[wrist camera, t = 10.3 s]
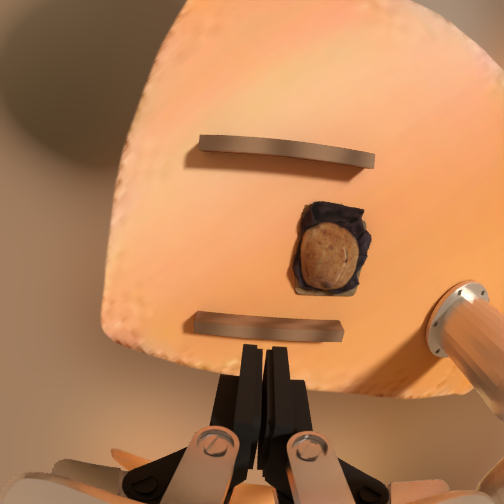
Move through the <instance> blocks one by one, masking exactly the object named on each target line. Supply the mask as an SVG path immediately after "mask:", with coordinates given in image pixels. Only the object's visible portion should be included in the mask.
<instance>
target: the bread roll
mask: <svg viewBox="0 0 504 504" xmlns="http://www.w3.org/2000/svg"><path fill="white" fill-rule="evenodd" d="M363 213H364V209H360V208H355V207H348V206H344V205H342V204H341V205H340V204H335V203H330V202H324V201H321V202H320V201H318V202H314V203H313V204H312V205H311V204H310V205H305V208H304V209H303V212H302V216H301V223H300V228H299V233H298V243H297V253H296V255H294V263H293V266H292V268H293V271H294V275H295V279H296V286H295V291H296V293H297V294H299V295H323V296H353V295H354V294H355V292H356V289H357V286H358V285H359V282H358V281H359V277H360V272H361V268H362V266H363V264H364V263H365V260H366V258H367V250H368V249H369V246H370V243H371V235H370V234H369V233H368V231H367V230H366V223H365V221H362V219H361V218H362V215H363Z"/></svg>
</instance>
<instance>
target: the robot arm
mask: <svg viewBox="0 0 504 504" xmlns="http://www.w3.org/2000/svg"><path fill="white" fill-rule="evenodd" d="M426 344H427V346H428V348H429V350H430V351H431V352H432V353H433V354H434V355H435V356H438V357H443V358H445V357H450V358H451V360H452V361H453V362H454V363H455V364H456V366H457V367H458V368H459V369H460V371H461V372H462V373H463V374H464V375H465V377H466V378H467V379H468V380H469V382H470V383H471V384H472V385H473V387H474V388H475V389H476V391H477V392H478V393H479V394H480V396H481V397H482V398H483V400H484V401H485V402H486V404H487V405H488V406H489V408H490V409H491V410H492V412H493V413H494V414H495V415H496V416H497V418H499V419H500V420H502V421H504V314H503V313H502V312H500V311H499V310H498V309H496V308H495V307H494V306H492V305H491V304H490V303H489V297H488V293H487V290H486V289H485V287H484V286H483V285H481V284H480V283H478V282H476V281H471V280H468V281H464V282H461V283H459V284H457V285H456V286H454V287H453V288H451V289H450V290H449V291H448V292H447V293H446V294H445V295H444V296H443V297H442V299H441V300H440V301H439V302H438V304H437V305H436V307H435V309H434V310H433V312H432V314H431V316H430V319H429V321H428V325H427V329H426ZM262 356H263V349H257V345H250V344H243V352H242V360H241V369H240V376H233V375H224V374H221V375H220V378H219V383H218V388H217V392H216V397H215V402H214V406H213V411H212V416H211V421H210V426H207V427H204V428H201V429H200V430H198V431H197V432H196V433H195V434H194V435H193V437H192V439H191V441H190V443H189V445H188V447H186V448H184V449H181V450H179V451H177V452H174V453H172V454H170V455H168V456H165V457H163V458H161V459H158V460H156V461H153V462H151V463H148V464H146V465H143V466H141V467H138V468H135V469H133V470H131V471H122V470H121V469H120V468H116V467H108V466H102V465H96V464H91V463H86V462H81V461H76V460H72V459H63V460H59V461H58V462H57V463H56V464H55V465H54V467H53V469H52V473H51V474H50V473H43V472H23V473H20V474H18V475H16V476H15V477H14V478H12V479H11V480H10V481H9V482H8V483H7V484H6V485H5V487H4V488H3V489H2V490H1V492H0V504H230V503H231V500H232V497H233V493H234V490H235V486H236V485H238V484H240V483H241V482H243V481H244V480H246V477H247V472H248V469H253V465H254V459H255V454H256V449H257V443H258V460H257V469H258V470H263V477H265V481H267V482H268V483H269V484H270V485H271V486H273V495H274V500H275V504H504V457H503V458H502V459H501V460H500V461H499V462H498V463H497V464H496V465H495V466H494V467H493V468H492V469H491V470H489V471H488V472H487V474H486V475H485V476H484V477H483V478H482V479H481V481H480V482H479V484H478V485H477V488H476V490H475V491H473V490H460V491H452V492H450V490H449V487H448V485H447V484H446V483H445V482H444V481H442V480H438V479H432V480H422V481H407V482H391V483H390V484H383V483H381V482H380V481H379V480H377V479H375V478H372V477H371V476H369V475H367V474H365V473H363V472H362V471H360V470H358V469H356V468H355V467H353V466H351V465H349V464H348V463H346V462H344V461H343V460H341V459H339V458H337V456H336V453H335V451H334V448H333V446H332V444H331V442H330V441H329V439H328V438H327V437H326V436H324V435H322V434H320V433H318V432H313V430H312V423H311V417H310V410H309V404H308V398H307V391H306V385H305V381H304V380H290V372H289V362H288V353H287V347H276V346H273V347H272V350H267V351H266V359H265V366H264V373H263V380H262Z"/></svg>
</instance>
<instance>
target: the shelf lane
mask: <svg viewBox="0 0 504 504" xmlns="http://www.w3.org/2000/svg"><path fill="white" fill-rule="evenodd" d="M199 150H200V151H203V152H226V153H243V154H256V155H268V156H279V157H288V158H297V159H306V160H314V161H321V162H328V163H335V164H341V165H348V166H354V167H360V168H367V169H374V162H375V154H372V153H368V152H362V151H357V150H352V149H346V148H340V147H334V146H327V145H321V144H314V143H306V142H298V141H290V140H280V139H270V138H258V137H244V136H226V135H200V139H199ZM194 333H200V334H209V335H219V336H229V337H240V338H253V339H267V340H285V341H311V342H342V339H343V335H344V329H343V327H342V325H341V323H340V321H338V320H309V319H289V318H273V317H258V316H246V315H234V314H223V313H213V312H203V311H198V312H197V315H196V317H195V320H194Z"/></svg>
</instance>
